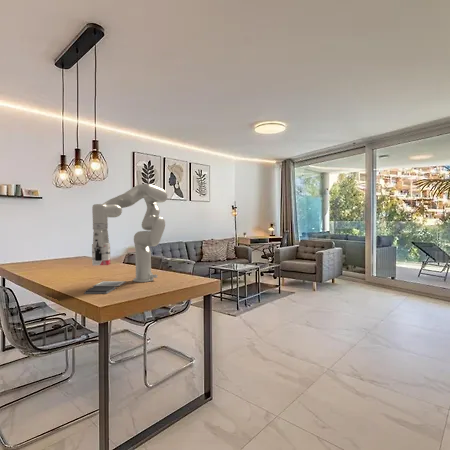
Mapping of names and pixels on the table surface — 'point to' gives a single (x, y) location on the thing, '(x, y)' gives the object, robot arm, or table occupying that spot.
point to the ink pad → (100, 290)
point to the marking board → (110, 283)
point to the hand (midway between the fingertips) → (100, 259)
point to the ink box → (105, 255)
